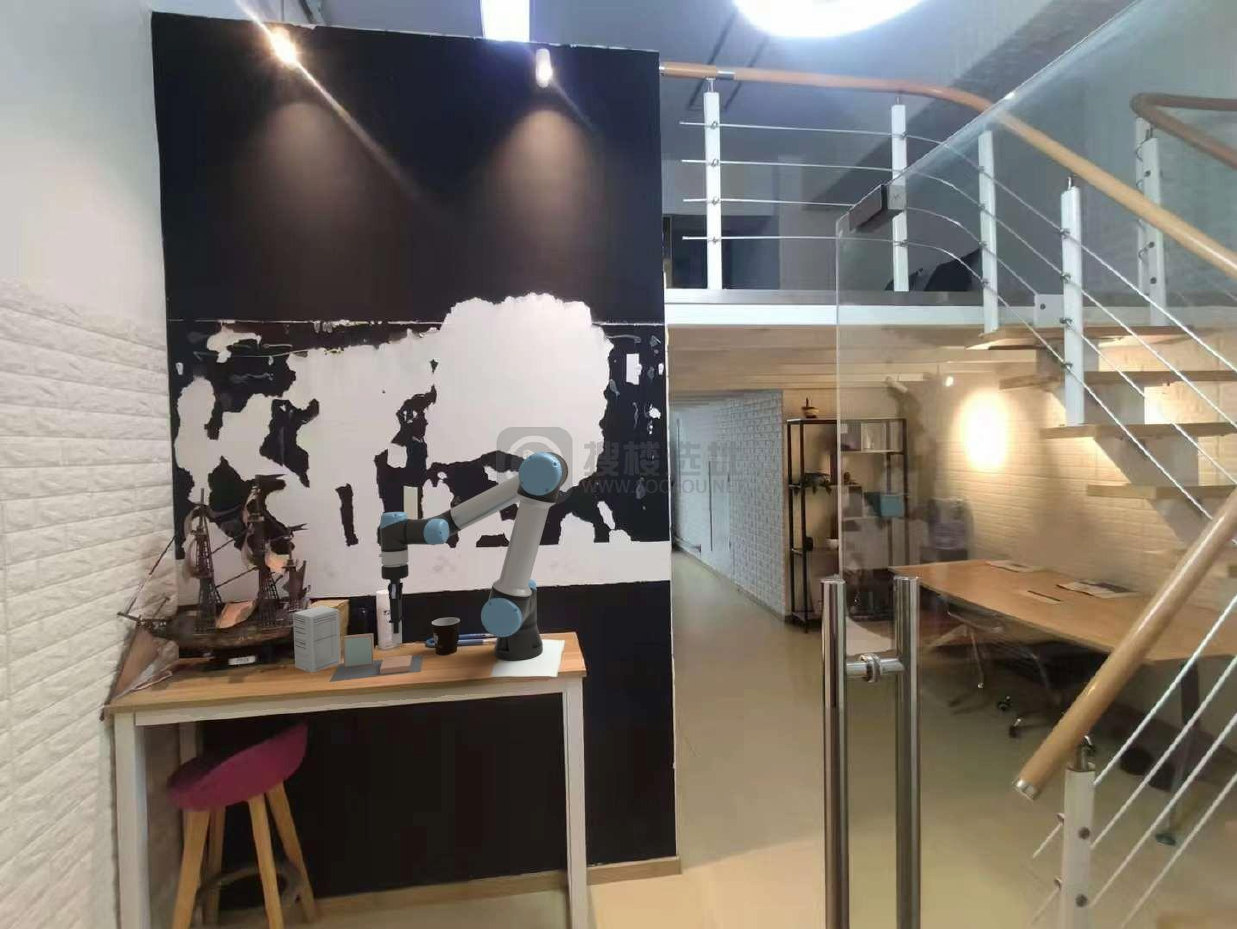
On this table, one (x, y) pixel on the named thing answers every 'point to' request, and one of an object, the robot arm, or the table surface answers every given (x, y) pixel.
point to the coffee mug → (446, 635)
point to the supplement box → (316, 638)
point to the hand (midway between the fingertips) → (396, 643)
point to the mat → (371, 670)
